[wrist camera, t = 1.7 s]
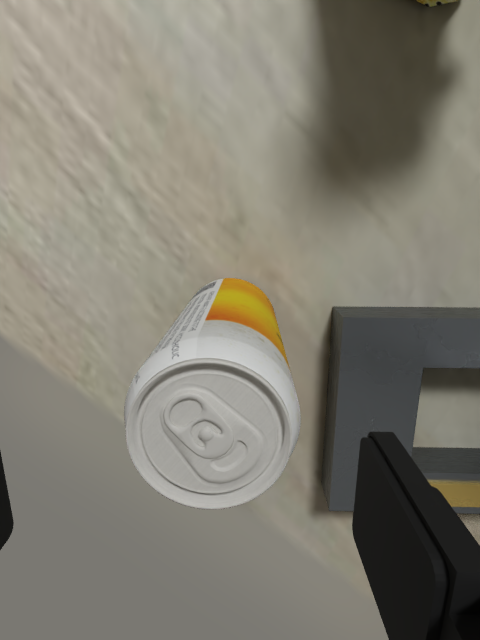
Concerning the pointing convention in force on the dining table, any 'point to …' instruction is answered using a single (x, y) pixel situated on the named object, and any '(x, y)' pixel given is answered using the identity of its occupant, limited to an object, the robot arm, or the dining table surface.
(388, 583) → the robot arm
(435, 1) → the chocolate bunny
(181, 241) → the dining table surface
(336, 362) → the plate
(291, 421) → the beer can
